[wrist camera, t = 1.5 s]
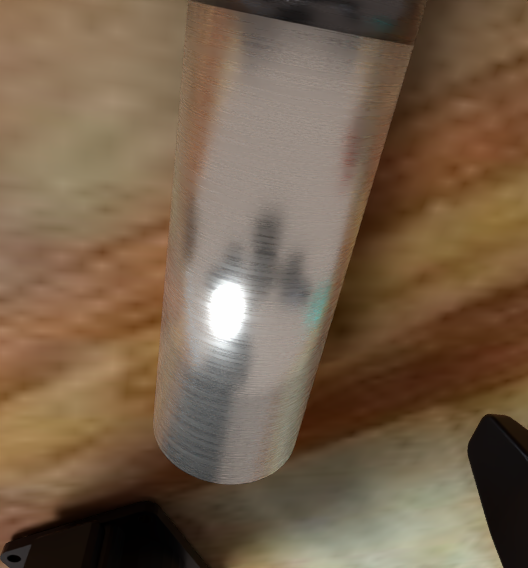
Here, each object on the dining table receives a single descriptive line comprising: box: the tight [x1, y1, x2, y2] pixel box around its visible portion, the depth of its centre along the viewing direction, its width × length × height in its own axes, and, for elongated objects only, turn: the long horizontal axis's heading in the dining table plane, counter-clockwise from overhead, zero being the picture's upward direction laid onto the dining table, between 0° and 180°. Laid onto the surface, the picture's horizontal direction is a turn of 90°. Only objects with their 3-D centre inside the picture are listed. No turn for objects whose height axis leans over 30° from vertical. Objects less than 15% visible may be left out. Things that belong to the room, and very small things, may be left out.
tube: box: [153, 0, 427, 484], centre depth 9 cm, size 16×4×4 cm, turn 170°
